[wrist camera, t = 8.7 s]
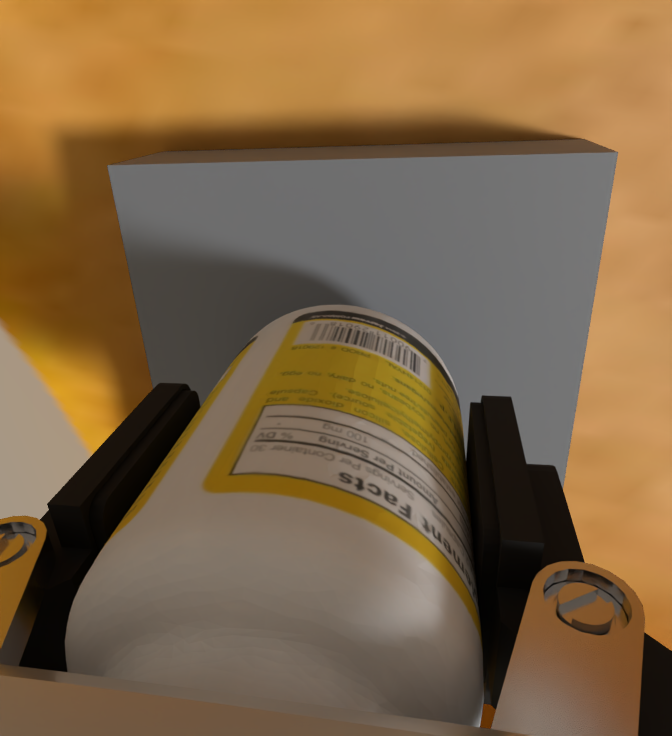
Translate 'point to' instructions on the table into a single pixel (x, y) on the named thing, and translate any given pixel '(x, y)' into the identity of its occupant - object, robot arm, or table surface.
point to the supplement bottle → (303, 534)
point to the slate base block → (379, 259)
